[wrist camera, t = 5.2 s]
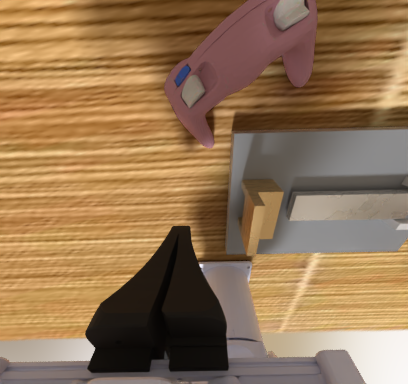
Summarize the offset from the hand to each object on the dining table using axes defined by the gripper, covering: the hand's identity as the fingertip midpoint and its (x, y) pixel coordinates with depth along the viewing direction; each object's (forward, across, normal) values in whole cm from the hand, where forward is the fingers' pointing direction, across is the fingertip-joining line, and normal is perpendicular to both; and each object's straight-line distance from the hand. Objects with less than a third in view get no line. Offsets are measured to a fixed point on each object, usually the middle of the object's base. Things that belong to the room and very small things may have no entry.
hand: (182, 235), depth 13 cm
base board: (+6, -16, 0) cm, 17 cm away
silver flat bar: (+4, -17, 0) cm, 17 cm away
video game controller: (+6, -4, -10) cm, 13 cm away
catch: (+5, -7, 0) cm, 8 cm away
